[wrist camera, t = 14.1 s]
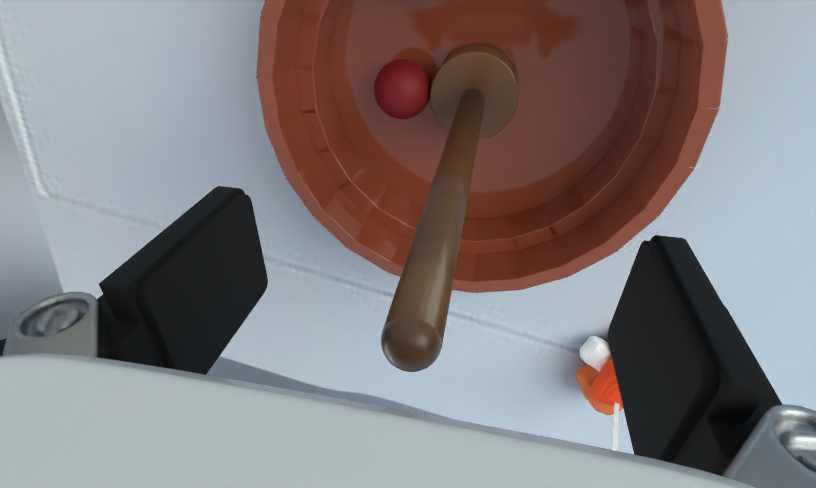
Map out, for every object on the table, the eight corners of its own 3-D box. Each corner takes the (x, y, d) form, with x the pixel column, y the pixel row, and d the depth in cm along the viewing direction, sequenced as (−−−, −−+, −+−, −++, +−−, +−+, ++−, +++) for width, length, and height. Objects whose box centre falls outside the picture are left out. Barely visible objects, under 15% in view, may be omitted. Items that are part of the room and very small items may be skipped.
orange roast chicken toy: (543, 388, 37) (553, 548, 27) (599, 309, 31) (638, 475, 22) (613, 411, 37) (649, 580, 27) (682, 335, 31) (759, 515, 21)
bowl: (284, -150, 20) (212, -178, 16) (752, -155, 18) (844, -192, 13) (323, 217, 32) (288, 267, 27) (613, 251, 29) (634, 315, 24)
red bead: (411, 51, 24) (362, 57, 23) (444, 61, 22) (392, 68, 21) (410, 106, 26) (365, 114, 25) (441, 121, 24) (393, 131, 22)
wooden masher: (438, 40, 23) (276, 251, 7) (524, 44, 22) (551, 288, 7) (433, 123, 26) (306, 414, 10) (511, 129, 25) (509, 453, 9)
